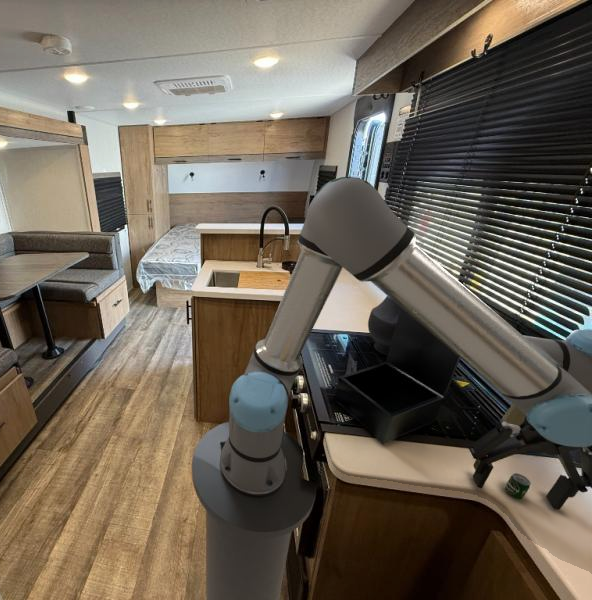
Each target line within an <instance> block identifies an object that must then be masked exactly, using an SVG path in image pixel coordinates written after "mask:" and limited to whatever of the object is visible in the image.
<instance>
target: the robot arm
mask: <svg viewBox="0 0 592 600" xmlns="http://www.w3.org/2000/svg"><path fill="white" fill-rule="evenodd" d="M300 230H301V231H300V233H299V236H298V238H297V244H298V246H299V248H300V253H299V256H298V259H297V261H296V263H295V266H294V268H293V271H292V273H291V275H290V278H289V280H288V283H287V285H286V288H285V290H284V293H283V295H282V297H281V300H280V302H279V305H278V307H277V310H276V312H275V315H274V316H273V319H272V321H271V324H270V326H269V329H268V332H267V334H266V336H265V338H263V339H260V340H258V341H257V343H256V344H255V347H254V350H253V351H252V355H251V356H250V359H249V361H248V365H247V367H246V369H245V371H244V374H242V375H240V376H238V377H237V378H236V379H235V381H234V382H233V383H232V387H231V389H230V393H229V397H228V398H229V401H228V405H229V415H228V417H229V418H228V422H229V437H228V439H227V441H226V442H220V445H221V446H224V447H223V449H222V452H221V456H220V468H221V472H222V475H223V477H224V479H225V480H226V482H227V483H228V484H229V485H230V486H231V487H232V488H233V489H234V490H236V491H237V492H239V493H241V494H243V495H246V496H250V497H266V496H269V495H272V494H273V493H275V492H276V491H278V490H279V489H280V487H281V486H282V484H283V482H284V480H285V474H286V470H287V467H286V459H284V456H283V452H282V449H281V441H282V434H283V431H284V426H285V420H286V416H287V415H286V414H287V411H288V405H289V401H290V396H291V391H292V388H293V385H294V383H295V381H296V379H297V377H298V375H299V374H300V373H299V372H300V371H301V369H302V366H303V365H304V362H303V358H302V355H301V353H302V352H303V349H304V347H305V345H306V343H307V341H308V339H309V337H310V335H311V333H312V331H313V329H314V328H315V325H316V323H317V321H318V320H319V317H320V315H321V313H322V311H323V308H324V307H325V305H326V303H327V301H328V299H329V297H330V295H331V293H332V291H333V288H334V286H335V284H336V283H337V281H338V279H339V276H340V274H341V272H342V271H343V269H344V270H346V271H347V272H348V273H349V274H350V275H352V276H353V277H354V279H356V280H358V282H364V283H365V282H370V283H372V284H373V285H374V286H376V288H378V290H380V291H381V292H382V293H383V294H385V296H386V297H387V296H388V297H389V298H391V299H392V300H393V301H394V302H395V303H397V304H398V305H399V306H400V307H401V308H402V309H404V310H405V311H406V312H407V313H408V314H409V315H411V316H412V317H413V318H414V319H415V320H416V321H418V322H419V323H420V324H421V325H422V326H423V327H425V328H426V329H427V330H428V331H429V332H430V333H432V334H433V335H434V336H435V337H436V338H437V339H439V340H440V341H441V342H442V343H443V344H444V345H446V346H447V347H448V348H449V349H450V350H451V351H453V352H454V353H455V354H456V355H457V356H459V357H460V360H462V361H463V362H464V363H465V364H466V365H468V366H469V367H470V368H471V369H472V370H474V371H475V372H476V373H477V374H478V375H479V376H480V377H481V378H483V379H484V380H485V381H487V382H488V383H489V384H490V385H491V386H493V388H494V389H496V390H497V391H498V392H499V393H500V394H501V395H502V396H503V397H504V398H506V399H507V401H509V402H510V403H511V404H514V405H515V406H516V407H517V408H518V409H519V410H520V411H521V412H522V413H523V414H524V415H525V419H524V422H523V423H521V424H519V425H518V426H517V425H513V424H508V423H507V421H506V420H504V419H502V418H501V419H499V420H498V421H497V423H496V425H495V427H494V428H492V429H491V430H489V431H488V432H487V433H485V434H484V435H483V436H481V437H480V438H478V439H477V440H475V441H474V442H473V443H471V444H470V445H469V446H468V447H467V448H468V450H469V452H470V454H471V457H472V458H473V459H474V462H473V464H472V465H473V468H474V470H475V471H474V472H473V474H472V479H473V481H474V483H475V486H476V487H477V488H479V489H483V487H485V484H486V482H487V480H488V478H489V477H490V475H491V473H492V471H493V469H494V467H495V466H494V465H493V464H494V463H496V462H499V461H501V460H504V459H506V458H510V457H512V456H515V455H518V454H520V453H523V454H527V453H529V452H535V453H542V454H543V453H544V454H546V455H548V456H551V457H552V456H553V457H555V456H557V458H558V459H559V461H560V464H561V466H562V467H563V469H564V472H565V474H566V475H567V476H566V475H563V474H560V475H559V476H558V478H557V479H556V480H555V482H554V484H553V485H552V486H551V488H550V489H549V491H548V492H547V494H546V495H545V497H546V499H547V500H548V502H549V503H550V505H551V507H552V508H553V510H556V511H560V510H561V509H562V507H563V506H564V505H565V503H566V502H567V500H568V499H569V498H571V499H573V498H575V496H576V495H577V494H578V492H580V493H587V492H589V489H588V488H590V489H592V329H590V328H585V329H575V330H573V331H571V332H570V334H569V335H568V336H566V338H565V340H562V339H551V338H543V337H538V336H537V337H536V336H530V335H523V334H522V333H521V332H519V331H518V330H517V329H516V328H515V327H513V326H512V324H510V323H508V321H507V320H505V319H504V318H502V316H501V315H499V314H498V313H497V312H496V311H494V309H492V308H491V307H490V306H489V305H487V304H486V303H485V302H484V301H483V300H481V299H480V298H479V297H478V296H477V295H476V294H475V293H473V292H472V291H471V290H470V289H469V288H467V287H466V286H465V285H464V284H462V283H461V282H460V281H459V280H458V279H456V278H455V277H454V276H453V275H452V274H451V273H450V272H449V271H447V270H446V269H445V268H444V267H442V266H441V265H440V264H439V263H438V262H437V261H436V260H434V259H433V258H432V256H431V257H430V256H429V254H427V253H426V252H425V251H423V250H422V249H421V248H420V247H419V246H418V245H417V244H416V237H417V235H416V233H415V232H414V231H413V230H412V229H410V227H408V226H407V225H406V224H405V223H404V222H403V221H402V220H401V219H400V218H399V217H398V216H397V215H396V214H395V212H394V211H393V210H392V209H391V208H390V207H389V205H388V204H387V203H386V201H385V199H384V198H383V196H382V195H381V193H380V192H379V191H378V190H377V189H376V188H375V186H373V185H372V184H371V183H370V182H369V181H367V180H364V179H362V178H360V177H355V176H341V177H337V178H334V179H332V180H330V181H328V182H327V183H325V184H323V185H322V186H321V187H320V188H319V190H318V191H317V192H316V193H315V195H314V197H313V198H312V200H311V202H310V204H309V206H308V208H307V211H306V216H305V220H304V223H303V225H302V228H301V229H300ZM515 433H516V434H515ZM513 434H514V435H513ZM509 437H510V439H508V438H509ZM521 440H523V441H524V443H525V445H523V444H522V443H521ZM578 449H580V465H581V466H580V467H581V470H580V471H581V475H580V473H579V470H578V469H577V467H576V465H575V463H574V459H573V458H572V456H571V453H570V452H572V451H576V450H578Z"/></svg>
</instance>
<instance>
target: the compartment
mask: <svg viewBox="0 0 592 600" xmlns="http://www.w3.org/2000/svg"><path fill="white" fill-rule="evenodd" d="M444 398H445V396H443V395H441V394H440V393H438V392H436V391H435V390H433V389H431V388H430V387H428V386H426V385H425V384H423V383H422V382H420V381H418V380H417V379H415V378H413V377H412V376H410V375H408V374H407V373H405V372H403V371H402V370H400V369H398V368H397V367H395V366H394V365H392V364H390V363H389V362H387V361H385V362H383V363H380V364H376V365H372V366H369V367H366V368H363V369H360V370H359V369H358V370H355V371H353V372H350V373H346V374H343V375H340V376H338V380H337V384H336V388H335V394H334V399H333V402H334V403H335V404H336V405H337V406H338V407H340V409H342V410H343V411H344V412H345V413H346V414H348V415H349V416H350V418H352V419H353V420H354V421H355V422H356V423H358V424H359V425H360V426H361V427H362V428H364V430H366V432H368V433H369V434H370V435H372V436H373V437H374V438H375V439H376V440H377V441H378V442H380V443H381V445H386V444H388V443H390V442H393V441H395V440H398V439H400V438H402V437H405V436H407V435H409V434H412V433H414V432H417V431H419V430H421V429H424V428H426V427H428V426H432V425H433V424H434V423H435V422H436V419H437V416H438V413H439V412H440V408H441V406H442V404H443V401H444Z"/></svg>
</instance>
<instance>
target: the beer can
mask: <svg viewBox="0 0 592 600" xmlns="http://www.w3.org/2000/svg"><path fill="white" fill-rule="evenodd" d="M531 484H532V482H531V481H530V479H529V478H527V476H525V475H523V474H521V473H517V472H516V473H512V475H510V477H509V478H508V480H507V482H506V484H505V486H504V492H505V493H506V494H507V495H508V496H510V497H511V498H512V499H516V500H522V499H523V498H524V497H525V495H527V493H528V491H529V489H530V487H531Z"/></svg>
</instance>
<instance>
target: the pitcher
mask: <svg viewBox="0 0 592 600" xmlns="http://www.w3.org/2000/svg"><path fill="white" fill-rule="evenodd" d="M400 308H401V307H400V306H399V305H398V304H397V303H395V302H394V301H393V300H392V299H391V298H389V297H388V296H387V295H386V297H385V298H384V299H383V300H382V301H381V302H380V303H379V304H378V305H376V306H375V307H373V308H372V309H371V311H370V313H369V317H368V320H367V328H368V333H369V335H370V337H371V338H372V340H373V341H374V342H375V343H374V344H373V348H374V349H375V350H376V351H377V352H378V353H379V354H382V355H385V356H387V357H388V353H389V349H390V345H391V342H392V338H393V334H394V331H395V327H396V323H397V319H398V316H399V312H400Z"/></svg>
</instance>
